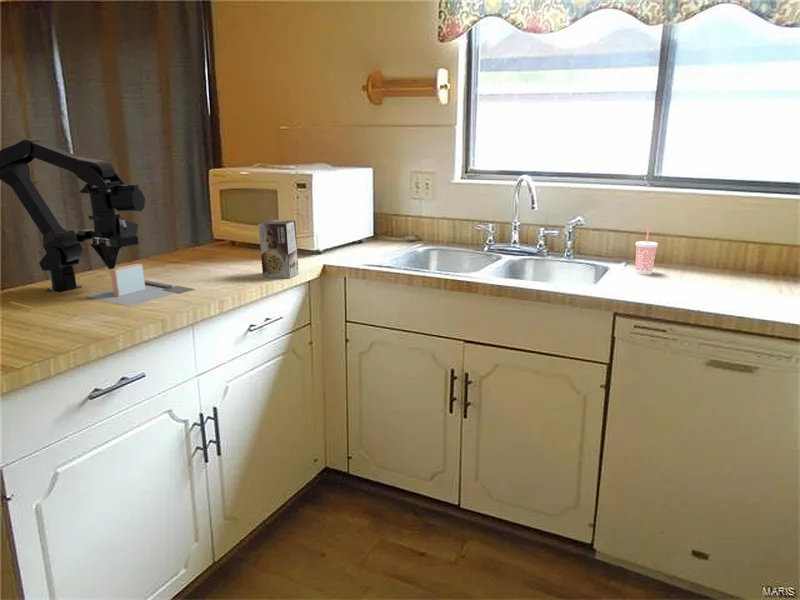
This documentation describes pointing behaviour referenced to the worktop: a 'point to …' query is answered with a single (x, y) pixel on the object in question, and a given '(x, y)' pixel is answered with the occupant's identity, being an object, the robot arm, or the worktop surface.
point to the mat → (133, 296)
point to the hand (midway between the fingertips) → (111, 269)
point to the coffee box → (278, 248)
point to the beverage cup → (645, 256)
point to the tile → (127, 279)
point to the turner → (169, 287)
